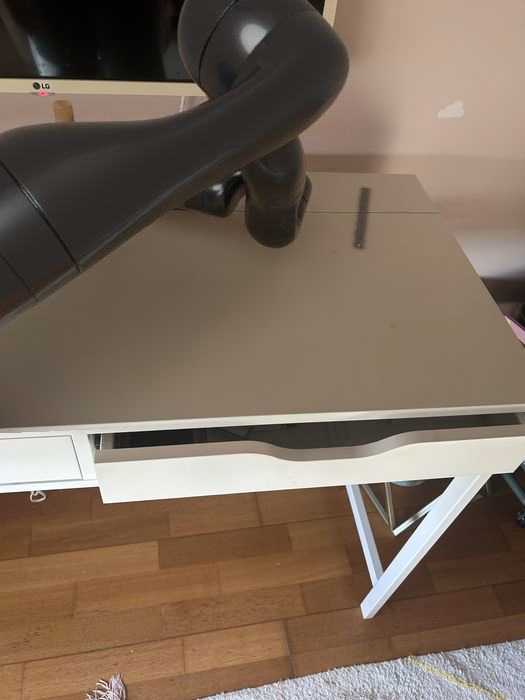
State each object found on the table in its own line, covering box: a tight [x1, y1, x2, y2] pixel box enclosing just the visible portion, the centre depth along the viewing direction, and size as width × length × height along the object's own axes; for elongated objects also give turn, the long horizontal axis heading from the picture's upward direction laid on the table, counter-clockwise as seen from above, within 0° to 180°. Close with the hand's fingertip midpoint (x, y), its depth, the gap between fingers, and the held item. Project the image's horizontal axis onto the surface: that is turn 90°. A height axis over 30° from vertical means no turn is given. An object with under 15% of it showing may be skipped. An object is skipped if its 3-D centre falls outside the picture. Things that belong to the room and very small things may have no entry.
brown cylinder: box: [52, 99, 76, 123], centre depth 77 cm, size 4×4×20 cm
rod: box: [356, 188, 368, 248], centre depth 96 cm, size 1×19×1 cm, turn 169°
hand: (51, 145), depth 74 cm, fingers open, 3 cm apart
